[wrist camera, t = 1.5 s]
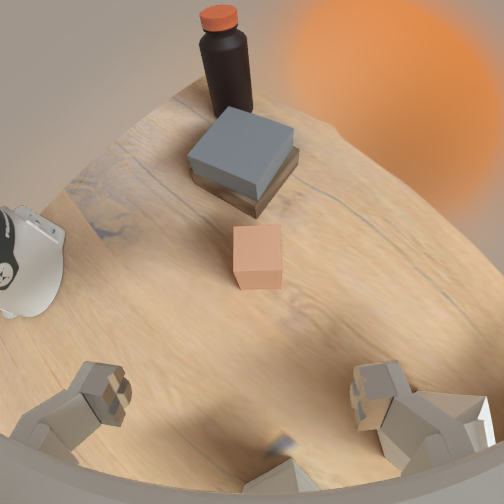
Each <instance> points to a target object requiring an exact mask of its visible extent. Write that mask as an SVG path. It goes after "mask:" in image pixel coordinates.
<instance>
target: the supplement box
mask: <svg viewBox="0 0 504 504" xmlns="http://www.w3.org/2000/svg"><path fill="white" fill-rule="evenodd" d="M319 490H320V489H319V488H318V487H317V486H316V485H315V484H314V482H313V481H312V480H311V479H310V478H309V477H308V475H307V474H306V473H305V472H304V471H303V470H302V468H301V467H300V466H299V465H298V464H297V463H296V461H295V460H294V459H293V458H290V459H288V460H287V461H285V462H283V463H282V464H280V465H279V466H277V467H275V468H273V469H272V470H270V471H268V472H266V473H265V474H263V475H261V476H259V477H257V478H256V479H254V480H252V481H250V482H248V483H246V484H245V485H244V487H243V491H242V493H292V492H307V491H319Z"/></svg>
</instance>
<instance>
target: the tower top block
mask: <svg viewBox="0 0 504 504" xmlns="http://www.w3.org/2000/svg"><path fill="white" fill-rule="evenodd" d="M293 132H294V129H293V128H291V127H288V126H285V125H283V124H280V123H277V122H275V121H272V120H269V119H266V118H263V117H260V116H257V115H254V114H251V113H248V112H245V111H242V110H239V109H236V108H233V107H230V106H228V108H227V109H226V110H225V111H224V112H223V113H222V114H221V115H220V117H219V118H218V119H217V120H216V121H215V122H214V124H213V125H212V126H211V127H210V128H209V129H208V131H207V132H206V133H205V134H204V135H203V137H202V138H201V139H200V140H199V141H198V143H197V144H196V145H195V146H194V147H193V149H192V150H191V151H190V152H189V154H188V155H187V157H188V159H189V162H190V165H191V167H192V170H193V172H194V173H195V174H197V175H200V176H202V177H204V178H206V179H209V180H211V181H213V182H216V183H218V184H220V185H222V186H225V187H227V188H229V189H231V190H234V191H236V192H238V193H240V194H242V195H245V196H247V197H249V198H251V199H253V200H256V201H258V200H259V199H260V197H261V196H262V194H263V192H264V191H265V189H266V188H267V186H268V185H269V183H270V182H271V180H272V178H273V177H274V175H275V174H276V172H277V171H278V169H279V168H280V166H281V165H282V163H283V161H284V160H285V158H286V157H287V155H288V154H289V152H290V151H291V149H292V148H293Z"/></svg>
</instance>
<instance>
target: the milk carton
mask: <svg viewBox="0 0 504 504" xmlns="http://www.w3.org/2000/svg"><path fill="white" fill-rule="evenodd" d="M415 393H417V394H419V395H420V396H422V397H423V398H425V399H426V400H428V401H429V402H430V403H432V404H433V405H435V406H436V407H438V408H439V409H441V410H442V411H444V412H445V413H447V414H448V415H450V416H451V417H453V418H454V419H456V420H457V421H459V422H460V423H462V424H463V425H464V427H465V429H466V431H467V433H468V436H469V438H470V440H471V443H472V445H473V447H474V450H475V452H478V451H481V450H483V449H485V448H488V447H490V446H492V445H494V444H496V443H495V437H494V431H493V425H492V420H491V415H490V410H489V405H488V400H487V396H477V395H462V394H451V393H440V392H431V391H422V390H418V391H417V392H415ZM376 430H377V433H378V436H379V439H380V443H381V446H382V449H383V452H384V456H385V458H386V459H387V460H388V461H389V462H390V463H392V464H393V465H394V466H396V467H397V468H398V469H400V470H401V471H403V469H404V468H405V467H406V465H407V464H408V463H409V461H410V460H411V459H410V458H409V457H408V456H407V455H406V454H405V453H403V452H402V451H401V450H400V449H399V448H398V447H397V446H396V445H395V444H394V443H393V442H392V441H391V440H390V439H389V438H388V437H387V436H386V435H385V434H384V433H383V432H382V431H381V430H380V429H376Z"/></svg>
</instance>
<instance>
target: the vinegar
mask: <svg viewBox="0 0 504 504" xmlns="http://www.w3.org/2000/svg"><path fill="white" fill-rule="evenodd" d="M200 19H201V24H202V28H203V31H204V32H206V34H205V35H204V36H203V37H202V38H201V40H200V43H199V47H200V52H201V56H202V60H203V65H204V69H205V74H206V78H207V83H208V87H209V91H210V96H211V100H212V105H213V109H214V113H215V115H216V116H217V117H218V118H219V117H220V115H221V114H222V113H223V112H224V111H225V110H226V109H227V108H228V106H230V107H233V108H236V109H239V110H242V111H245V112H248V113H251V112H252V110H253V99H252V88H251V78H250V67H249V56H248V46H247V38H246V36H245V34H244V33H243V32H241V31H240V30H238V29H237V28H236V27H237V26H238V17H237V9H236V8H235V7H233V6H230V5H216V6H212V7H209V8H206V9H204V10H203V11H202V12H201V13H200Z"/></svg>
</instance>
